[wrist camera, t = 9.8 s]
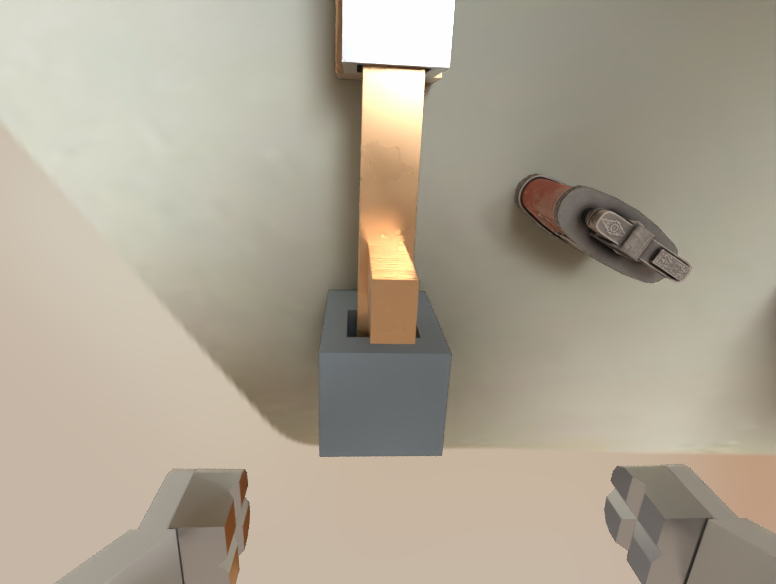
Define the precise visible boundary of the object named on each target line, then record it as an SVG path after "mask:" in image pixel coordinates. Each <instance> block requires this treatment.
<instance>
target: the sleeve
mask: <svg viewBox="0 0 776 584" xmlns="http://www.w3.org/2000/svg"><path fill="white" fill-rule="evenodd" d="M454 4H455V0H336V27H335V73H336V76H337V79H356V80H362V72H363V65H379V66H397V67H415V68H425V83H434V82H436V81H438V80H440V79H441V78H442V72H443V71H445V70H446V69H448V68H450V56H451V43H452V30H453V17H454Z"/></svg>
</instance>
